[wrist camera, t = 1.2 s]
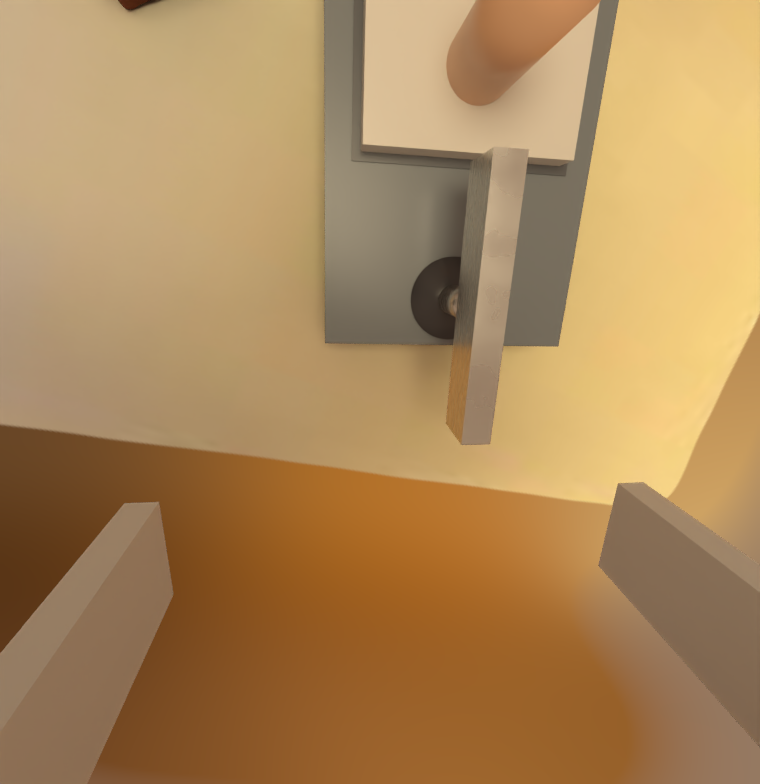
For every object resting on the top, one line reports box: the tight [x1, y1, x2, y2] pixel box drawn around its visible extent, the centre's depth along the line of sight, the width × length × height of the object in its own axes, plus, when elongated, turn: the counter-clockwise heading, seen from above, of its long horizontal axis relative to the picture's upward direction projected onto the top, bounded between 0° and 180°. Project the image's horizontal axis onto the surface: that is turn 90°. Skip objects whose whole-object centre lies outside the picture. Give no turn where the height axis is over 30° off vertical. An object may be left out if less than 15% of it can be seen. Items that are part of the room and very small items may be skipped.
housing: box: [324, 0, 619, 346], centre depth 26 cm, size 16×21×5 cm
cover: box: [361, 0, 601, 166], centre depth 18 cm, size 12×8×10 cm, turn 88°
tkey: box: [439, 147, 529, 445], centre depth 23 cm, size 2×14×6 cm, turn 178°
